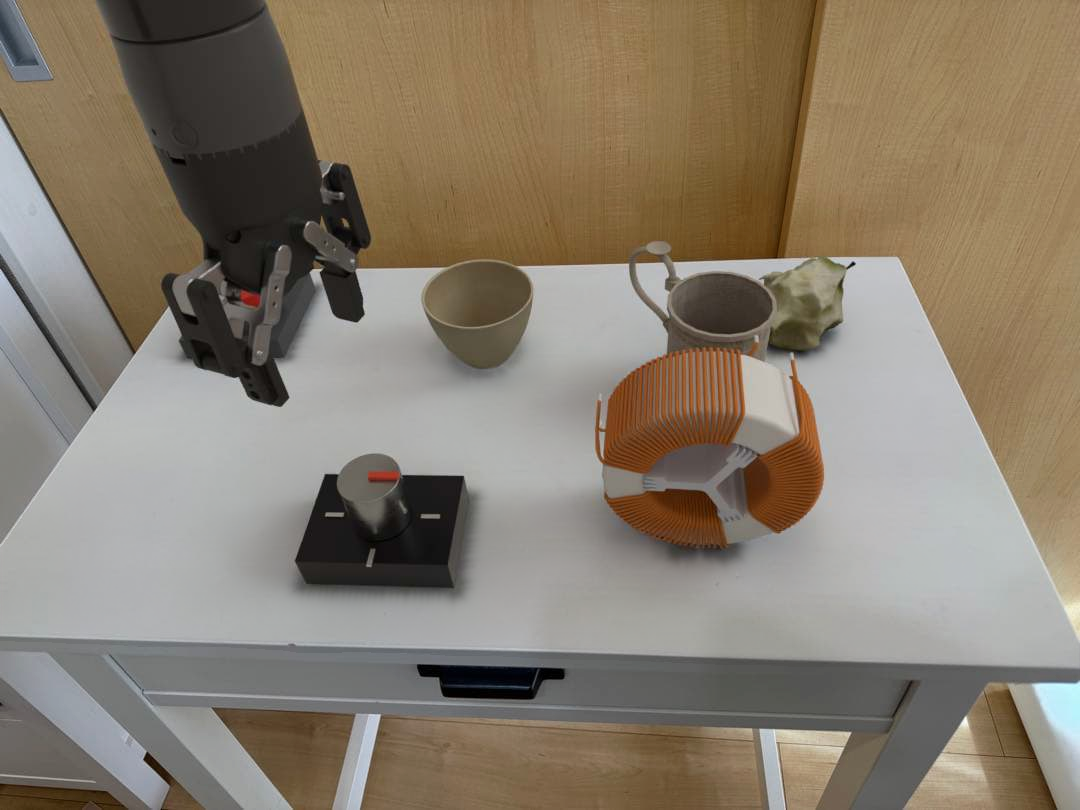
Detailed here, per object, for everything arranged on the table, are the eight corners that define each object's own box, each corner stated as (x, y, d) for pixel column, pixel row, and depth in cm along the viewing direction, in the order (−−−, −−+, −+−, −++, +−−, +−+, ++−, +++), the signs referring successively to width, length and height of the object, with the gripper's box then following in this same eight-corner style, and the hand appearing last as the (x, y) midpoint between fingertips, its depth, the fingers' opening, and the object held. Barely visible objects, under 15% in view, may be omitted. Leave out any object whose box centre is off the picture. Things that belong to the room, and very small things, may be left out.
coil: (802, 559, 54) (848, 414, 44) (593, 545, 56) (588, 403, 46) (792, 483, 59) (831, 337, 49) (599, 473, 61) (597, 330, 51)
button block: (284, 357, 74) (271, 325, 71) (187, 357, 75) (170, 326, 72) (315, 289, 82) (305, 258, 79) (227, 290, 83) (213, 259, 80)
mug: (791, 387, 67) (816, 273, 58) (722, 449, 62) (739, 336, 54) (662, 318, 74) (668, 210, 66) (593, 369, 70) (590, 259, 62)
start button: (258, 314, 73) (252, 299, 72) (222, 314, 74) (215, 300, 73) (270, 291, 76) (264, 277, 75) (235, 292, 76) (229, 277, 75)
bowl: (426, 388, 70) (412, 327, 65) (443, 319, 77) (431, 260, 72) (535, 387, 69) (529, 326, 64) (541, 318, 76) (536, 257, 71)
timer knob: (345, 540, 55) (328, 499, 51) (360, 492, 58) (344, 450, 54) (405, 541, 54) (392, 500, 51) (417, 492, 57) (405, 450, 54)
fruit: (823, 307, 76) (858, 244, 70) (831, 376, 70) (870, 314, 64) (732, 289, 76) (759, 225, 70) (733, 357, 70) (762, 293, 64)
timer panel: (305, 587, 56) (292, 563, 53) (335, 494, 62) (325, 469, 59) (453, 592, 54) (446, 567, 52) (469, 496, 61) (464, 471, 58)
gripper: (254, 52, 44) (328, 284, 55) (57, 169, 35) (194, 417, 46) (364, 64, 41) (418, 304, 53) (183, 193, 32) (295, 449, 44)
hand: (313, 357), depth 49 cm, fingers open, 8 cm apart
